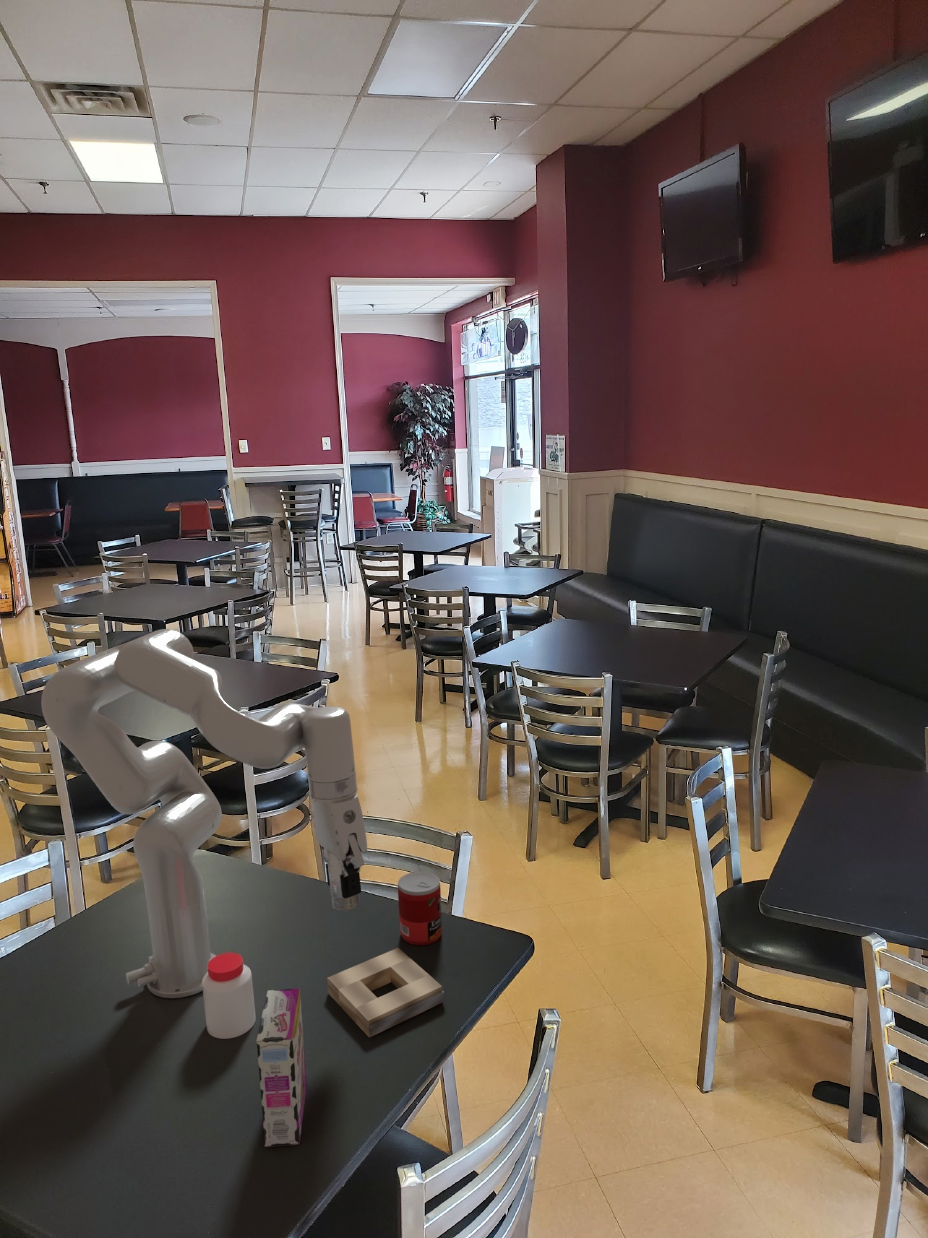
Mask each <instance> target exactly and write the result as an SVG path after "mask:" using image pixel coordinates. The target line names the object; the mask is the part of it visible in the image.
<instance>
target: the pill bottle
mask: <svg viewBox="0 0 928 1238" xmlns="http://www.w3.org/2000/svg"><path fill="white" fill-rule="evenodd" d="M252 975H253V974H252V971H251V969H250V967H249V966H247V964H244V959H243V956H242V955H240V954H239V953H236V952H224V953H220V954H218V955H216V957H214V958H212V959H211V960H210V961H209V963H208V972H207V973H206V974H205V975H204V977H203V979H202V989H203V991H202V995H203V1007H204V1015H205V1022H206V1023H205V1026H206V1031H207V1032H208V1034H209V1035H210V1036H211V1037H212V1038H216V1039H222V1040H225V1039H226V1040H227V1039H234V1038H236V1037H240V1036H242V1035H244V1034H246V1033H247V1032H249V1031H250V1030H251V1029H252V1028H253V1027H254V1025H255V1023H256V1020H257V1019H256V1018H257V1016H256V1006H255V995H254V984H253V976H252Z"/></svg>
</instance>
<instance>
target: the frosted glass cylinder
mask: <svg viewBox="0 0 928 1238" xmlns="http://www.w3.org/2000/svg"><path fill="white" fill-rule="evenodd" d="M326 853H327V863H328V871H329V879H330V886H329V888H330V896H331V904H332V906H331V907H332V908H333V910H335V911H337V912H348V911H352V910H354V909H356V908H357V907H358V906H359V905H360V893H359V894H357V895H354V896H352V897H349V898H347V899H344V898H343V897H342V890H341V881H340V875H342V871H341V867H340V862H339V859H338V858H337V857H335V856H334V855H332V854H331V853H330V852H328V851H327V850H326ZM349 853H350V851H348V852H347V853H345V854H349ZM345 862H346V866H347V865H348V864H349V863H351V862H352V858H351V859H348V860H346V861H345Z"/></svg>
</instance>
